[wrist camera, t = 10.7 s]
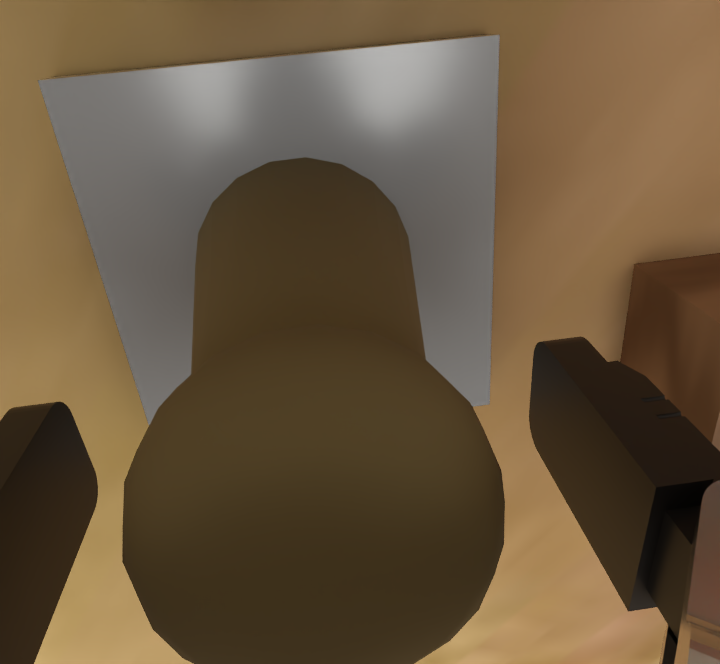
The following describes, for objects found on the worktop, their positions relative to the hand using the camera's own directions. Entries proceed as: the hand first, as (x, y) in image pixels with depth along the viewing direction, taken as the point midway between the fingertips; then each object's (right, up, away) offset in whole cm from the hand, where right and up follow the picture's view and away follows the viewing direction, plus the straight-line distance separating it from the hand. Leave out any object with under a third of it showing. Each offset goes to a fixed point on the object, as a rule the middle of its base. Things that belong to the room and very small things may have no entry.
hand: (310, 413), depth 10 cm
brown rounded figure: (-1, +3, +6) cm, 7 cm away
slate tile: (-1, +4, +7) cm, 8 cm away
